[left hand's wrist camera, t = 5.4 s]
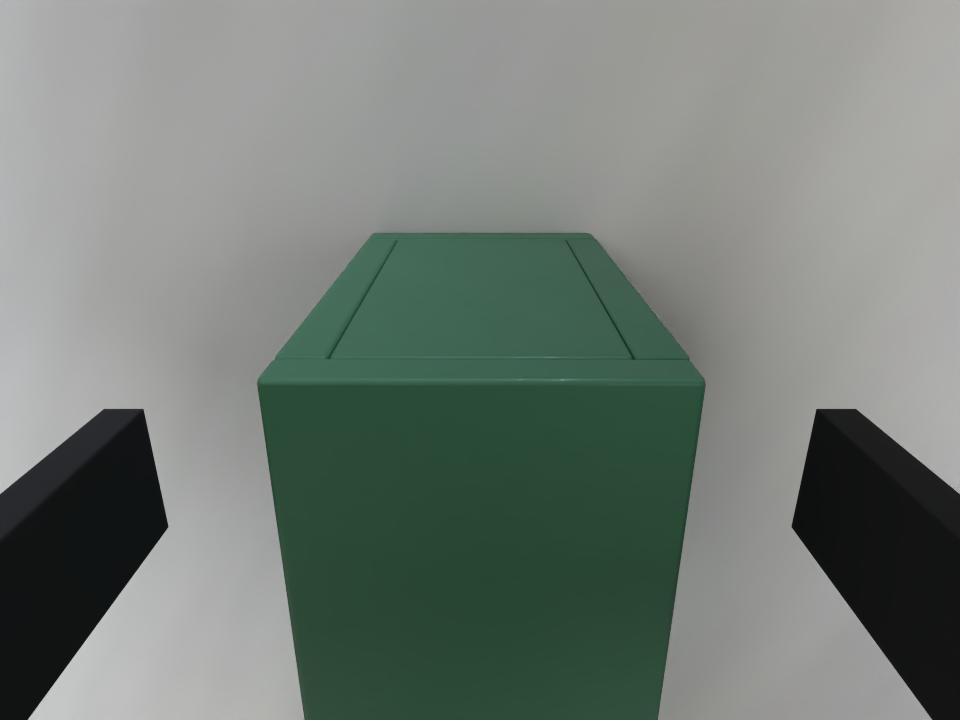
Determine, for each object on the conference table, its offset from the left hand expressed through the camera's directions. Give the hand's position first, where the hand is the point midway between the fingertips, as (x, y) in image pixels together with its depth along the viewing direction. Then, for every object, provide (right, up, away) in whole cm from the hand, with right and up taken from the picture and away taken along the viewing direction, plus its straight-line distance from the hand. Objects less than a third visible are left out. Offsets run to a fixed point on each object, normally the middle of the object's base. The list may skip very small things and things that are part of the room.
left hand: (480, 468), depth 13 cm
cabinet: (0, -3, +8) cm, 8 cm away
